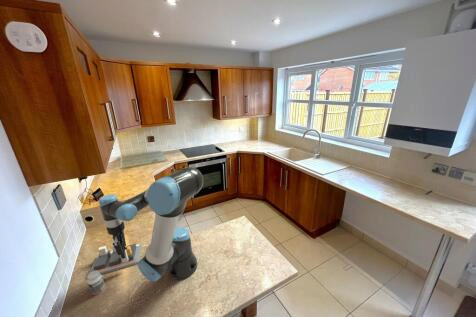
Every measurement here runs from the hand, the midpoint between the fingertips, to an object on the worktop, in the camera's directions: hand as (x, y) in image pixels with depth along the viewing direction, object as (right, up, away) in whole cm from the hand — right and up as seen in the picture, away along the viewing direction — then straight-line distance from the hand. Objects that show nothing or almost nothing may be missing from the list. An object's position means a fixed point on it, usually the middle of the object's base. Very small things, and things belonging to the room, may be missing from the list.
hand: (125, 261), depth 103 cm
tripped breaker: (-2, 0, +6) cm, 7 cm away
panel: (-10, -4, +8) cm, 13 cm away
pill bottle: (-8, -9, -9) cm, 15 cm away
